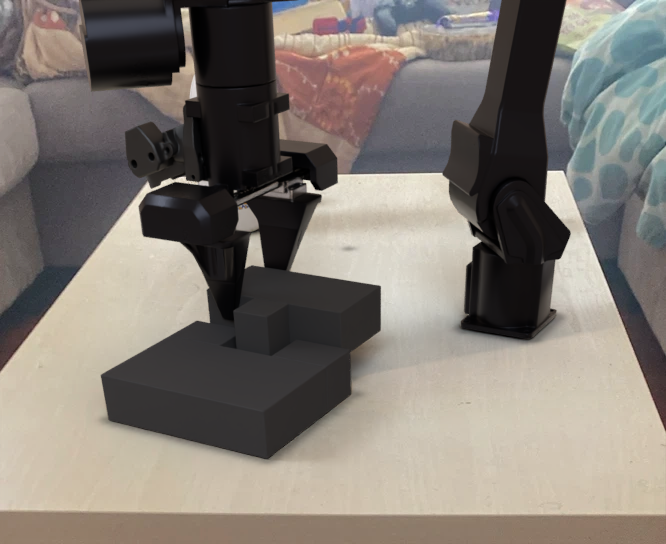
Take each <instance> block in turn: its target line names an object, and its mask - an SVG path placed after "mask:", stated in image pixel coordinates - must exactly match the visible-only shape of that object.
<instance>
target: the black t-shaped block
mask: <svg viewBox="0 0 666 544" xmlns="http://www.w3.org/2000/svg"><path fill="white" fill-rule="evenodd" d="M206 296H207V307H208V316H209V317H208V318H209V323H213V324H218V325H223V326H229V327H234V328H235V335H236V347H237V349H239V350H244V351H249V352H254V353H259V354H264V355H269V356H272V355H274V354H275V353H277V352H278V351H280V350H281V349H283V348H284V347H286V346H288V345H289V344H291V343H292V342H294V341H295V340H302V341H308V342H313V343H318V344H324V345H329V346H334V347H339V348H345V349H350V353H352V352H354V351H355V350H356V349H357V348H359V347H360V346H362V345H363V344H364V343H366V342H367V341H368V340H370V339H371V338H373V337H374V336H376V335H377V334H378V333H380V332H381V331H382V286H381V285H380V284H379V285H378V284H373V283H367V282H366V283H365V282H360V281H353V280H347V279H340V278H336V277H335V278H334V277H329V276H323V275H317V274H310V273H303V272H297V271H291V270H290V271H285V270H279V269H273V268H266V267H264V266H260V265H255V264H251V265H249V266H248V267H245V272H244V279H243V285H242V292H241V298H240V304H239V308H237V309H235V310H234V311H233V313H234V320H233V321H230V320H225V319H223V318H222V316H221V314H220V312H219V309H218V307H217V305H216V303H215V300H214V298H213V296H212V294H211V291H210V289H209V287H208V288H207V289H206Z"/></svg>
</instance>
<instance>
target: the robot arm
mask: <svg viewBox="0 0 666 544" xmlns="http://www.w3.org/2000/svg"><path fill="white" fill-rule="evenodd" d="M297 1H298V0H78V8H79V15H80V21H81V24H79V25H78V28H79V34H80V41H81V47H82V52H83V60H84V64H85V70H86V76H87V81H88V85H89V90H90V92H93V93H94V92H104V91H116V90H119V91H120V90H130V89H142V88H143V89H144V88H156V87H169V86H172V85H173V74H179V73H180V72H181V68H186V64H187V52H186V38H185V31H184V23H183V15H182V9H185V8H186V9H188V19H189V30H190V41H191V49H192V50H191V51H192V59H193V71H194V74H195V81H196V92H197V97H194V98H191V99H190V98H188V99H185V100H184V105H183V106H182V117H183V124H181V125H177V126H176V127H173V128H170V129H168V130H164V131H161V129H160V128H159V127H158V126H157V124H155V123H154V122H153V121H147V122H145V123H142V124H139V125H137V126H134V127H132V128H130V129H127V130H125V131H124V138H125V139H124V141H125V156H126V157H125V158H126V160H127V165H128V168H129V170H130V171H131V172H132V174H133V175H134V176H135V177H136V178H138V179H142V178H146V180H147V183H148V185H149V188H150V190H152V191H149V192H147V193H145V195H144V196H143V198H142V200H141V201H140V203H139V204H138V213H139V220H140V227H141V234H142V236H143V238H149V239H156V240H162V241H169V242H176V243H180V244H181V245H182V246H183V247H184V249H186V250H187V251H188V252H190V254H191V255H192V256H193V259H194V261H195V262H196V264H197V265H198V268H199V270H200V271H201V274H202V275H203V278H204V280H205V283H206V285H207V287H208V288H209V289H210V291H211V294H212V296H213V298H214V300H215V303H216V305H217V307H218V309H219V312H220V314H221V316H222V318H223V319H225V320H230V321H233V320H234V313H233V311H234V310H235V309H237V308H239V304H240V298H241V292H242V285H243V279H244V272H245V268H246V265H247V258H248V253H249V246H250V240H251V232H249V231H242V230H236V226H237V223H238V221H239V216H238V207H239V206H241V205H243V204H245V203H246V204H247V205H248V207H249V208H250V210H251V211H252V212H253V214H254V215H255V217H256V219H257V221H258V226H259V229H258V233H259V240H260V246H261V247H260V248H261V254H262V261H263V267H266V268H273V269H279V270H285V271H291V270H292V268H293V264H294V261H295V259H296V256H297V253H298V251H299V249H300V246H301V243H302V241H303V239H304V237H305V234H306V232H307V229H308V227H309V225H310V222H311V220H312V218H313V216H314V213H315V211H316V208H317V207H318V205H319V204H321V203H322V200H323V195H322V194H320V193H316V192H308V187H307V186H308V185H307V183H306V182H304V181H309V182H310V184H311V186H312V187H313V188H314V191H319V192H320V191H321V192H323V191H325V190H327V189H329V188H330V187H331V188H332V187H333V186H335V185H337V184H339V174H338V173H339V169H338V157H337V155H336V154H335V153H334V151H333V149H331V147H330V146H329V144H327V143H323V142H314V141H303V140H292V139H284V138H280V121H279V120H280V119H279V114H281V113H284V112H288V111H290V93H289V92H278V85H277V84H278V83H277V67H276V66H277V65H276V64H277V63H276V49H275V29H274V27H275V26H274V12H273V9H274V8H273V3H281V2H297ZM566 5H567V0H500V6H499V12H498V18H497V22H496V27H495V34H494V39H493V44H492V48H493V50H492V49H491V51H492V55H491V54H490V62H489V66H488V71H487V78H486V83H485V88H484V94H483V95H482V96H483V97H482V99H481V102H480V104H479V105H478V107H477V109H476V110H475V112H474V114H473V117H472V118H471V120H470V122H468V123H467V122H465V121H461V120H458V119H454V120H453V121H452V126H451V131H450V151H449V156H448V160H447V163H446V165H445V167H444V169H443V171H442V173H441V175H442V176H443V177H444V178H445V179H447V180H448V195H449V200H450V201H451V203H452V205H453V207H454V208H455V210H456V211H457V213H459V215H461V216H462V217H464V219H466V222H467V225H468V227H469V231H470V235H471V236H473V237H474V238H477V239H478V240H479V241H480V242H478V243H477V244H475V245H473V246H472V253H471V261H470V262H469V263H467V264H466V266H465V282H464V298H463V299H464V301H463V312H464V314H465V315H466V316H465V317H464V318H462V319H461V320H460V325H459V326H460V328H462V329H466V330H471V331H472V330H473V331H478V332H483V333H491V334H495V335H502V336H507V337H512V338H519V339H525V340H530V339H532V338H534V337H535V336H536V335H537V334H538V333H539V332H540V331H542V330H543V328H545V327H546V326H547V325H548V324H549V323H550V322H551V321H553V319H555V318H556V317H557V311H558V310H557V309H556V308H551V307H552V306H551V305H552V297H553V287H554V277H555V268H556V260H557V261H558V260H560V259H562V257H563V254H564V253H565V249H566V247H567V245H568V243H569V241H570V238H571V234H572V233H571V230H570V228H568V226H567V225H566V224H565V223H564V222H563V220H561V219H560V217H559V216H558V214H556V213H555V211H553V209H552V208H551V207H550V206H549V204H547V202H546V197H547V196H546V195H547V183H548V181H547V180H548V170H549V150H548V140H547V131H546V124H545V123H546V122H545V105H546V104H545V103H546V99H547V95H548V89H549V85H550V80H551V76H552V71H553V66H554V62H555V57H556V52H557V47H558V44H559V38H560V33H561V29H562V24H563V19H564V15H565V10H566ZM181 177H185V181H186V182H179V181H174V180H177V179H180V178H181ZM170 179H171V180H172V181H174V182H171V183H168V184H167V185H164V186H162V187H159V186H161V185H162V182H164V181H167V180H170ZM200 181H208V185H209V186H204V185H197V182H200ZM187 182H193V183H187ZM195 183H196V184H195ZM158 187H159V188H158ZM155 188H156V189H155ZM153 189H154V190H153ZM234 190H236V191H237V192H235V193H234Z"/></svg>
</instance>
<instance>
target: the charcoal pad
mask: <svg viewBox="0 0 666 544" xmlns="http://www.w3.org/2000/svg"><path fill="white" fill-rule="evenodd" d="M351 366H352V364H351V352H350V349H345V348H339V347H334V346H329V345H324V344H318V343H313V342H308V341H302V340H295V341H294V342H292V343H291V344H289V345H288V346H286V347H284V348H283V349H281V350H280V351H278V352H277V353H275V354H274V355H272V356H269V355H264V354H259V353H254V352H249V351H244V350H239V349H237V347H236V335H235V328H234V327H229V326H223V325H218V324H213V323H210V322H207V321H201V320H194V321H192V322H191V323H189V324H188V325H186V326H185V327H182V328H181V329H179V330H177V331H175V332H174V333H172V334H170V335H169V336H167V337H165V338H163V339H161V340H160V341H158V342H156V343H154V344H152V345H151V346H149V347H147V348H145V349H144V350H141V351H140V352H138V353H136V354H135V355H133V356H131V357H130V358H127V359H126V360H124V361H122V362H120V363H119V364H117V365H115V366H114V367H112V368H110V369H108V370H106V371H105V372H103V373H101V374H100V379H101V386H102V389H103V396H104V403H105V407H106V414H107V418H108V421H110V422H111V421H112V422H115V423H119V424H123V425H127V426H131V427H136V428H138V429H144V430H147V431H152V432H156V433H160V434H163V435H167V436H173V437H176V438H180V439H184V440H189V441H193V442H197V443H201V444H205V445H209V446H212V447H216V448H221V449H226V450H230V451H233V452H236V453H241V454H246V455H250V456H253V457H257V458H262V459H266V460H267V459H269V458H271V457H272V456H273V455H275V454H276V453H277V452H278V451H280V450H281V449H282V448H283V447H285V446H286V445H287V444H289V443H290V442H291V441H293V440H294V439H295V438H296V437H298V436H299V435H300V434H302V433H303V432H304V431H306V430H307V429H308V428H309V427H311V426H312V425H313V424H314V423H316V422H317V421H319V420H320V419H321V418H322V417H323V416H325V415H326V414H327V413H329V412H330V411H332V410H333V409H334V408H335V407H337V406H338V405H339V404H341V402H343V401H345V400H346V399H348V398H349V396H351V395H352V373H351V371H352V370H351V368H352V367H351Z"/></svg>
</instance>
